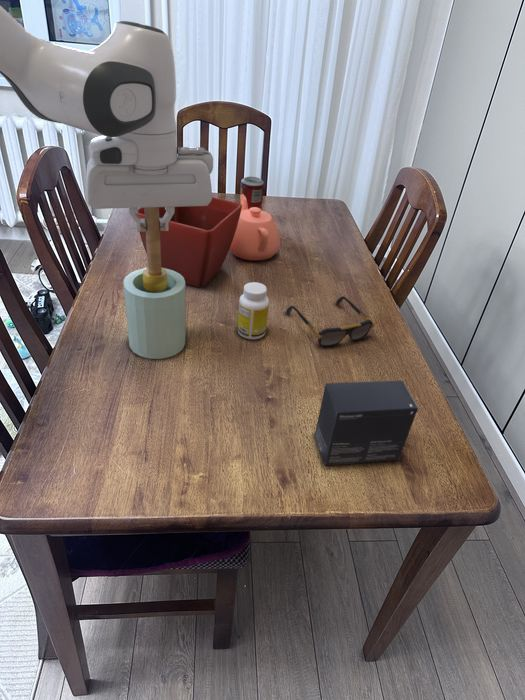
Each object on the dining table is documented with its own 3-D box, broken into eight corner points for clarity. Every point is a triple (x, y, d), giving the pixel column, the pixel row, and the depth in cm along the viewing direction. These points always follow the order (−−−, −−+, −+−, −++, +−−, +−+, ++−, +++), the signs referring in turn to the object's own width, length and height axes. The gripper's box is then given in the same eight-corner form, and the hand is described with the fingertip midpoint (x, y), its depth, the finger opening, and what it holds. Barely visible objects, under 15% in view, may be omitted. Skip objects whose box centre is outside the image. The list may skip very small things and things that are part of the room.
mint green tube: (132, 362, 93) (126, 300, 85) (126, 328, 101) (121, 269, 93) (189, 355, 96) (190, 295, 88) (180, 323, 105) (179, 265, 96)
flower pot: (239, 265, 128) (243, 203, 118) (208, 298, 114) (210, 231, 104) (174, 248, 133) (173, 187, 122) (136, 278, 118) (132, 212, 108)
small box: (385, 430, 85) (403, 378, 78) (400, 461, 80) (421, 409, 72) (312, 434, 83) (324, 381, 75) (323, 466, 77) (337, 413, 70)
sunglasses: (336, 304, 117) (340, 286, 114) (373, 339, 107) (378, 321, 104) (285, 313, 112) (288, 295, 109) (319, 352, 101) (323, 332, 98)
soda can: (265, 219, 154) (269, 180, 147) (248, 224, 150) (251, 184, 143) (250, 212, 158) (253, 173, 151) (234, 216, 154) (236, 177, 147)
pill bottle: (266, 325, 107) (272, 282, 100) (264, 342, 102) (269, 297, 96) (239, 322, 107) (242, 278, 101) (235, 338, 102) (238, 293, 96)
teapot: (215, 234, 142) (216, 193, 134) (263, 232, 146) (267, 192, 139) (236, 270, 126) (239, 226, 118) (289, 266, 130) (296, 223, 123)
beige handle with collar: (144, 292, 89) (139, 208, 79) (142, 281, 92) (136, 198, 82) (169, 291, 90) (166, 207, 80) (165, 279, 93) (162, 197, 83)
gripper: (209, 141, 81) (207, 220, 90) (79, 140, 75) (90, 224, 84) (218, 153, 76) (215, 235, 85) (80, 152, 71) (92, 240, 79)
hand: (152, 230), depth 84 cm, fingers closed on beige handle with collar, 2 cm apart
